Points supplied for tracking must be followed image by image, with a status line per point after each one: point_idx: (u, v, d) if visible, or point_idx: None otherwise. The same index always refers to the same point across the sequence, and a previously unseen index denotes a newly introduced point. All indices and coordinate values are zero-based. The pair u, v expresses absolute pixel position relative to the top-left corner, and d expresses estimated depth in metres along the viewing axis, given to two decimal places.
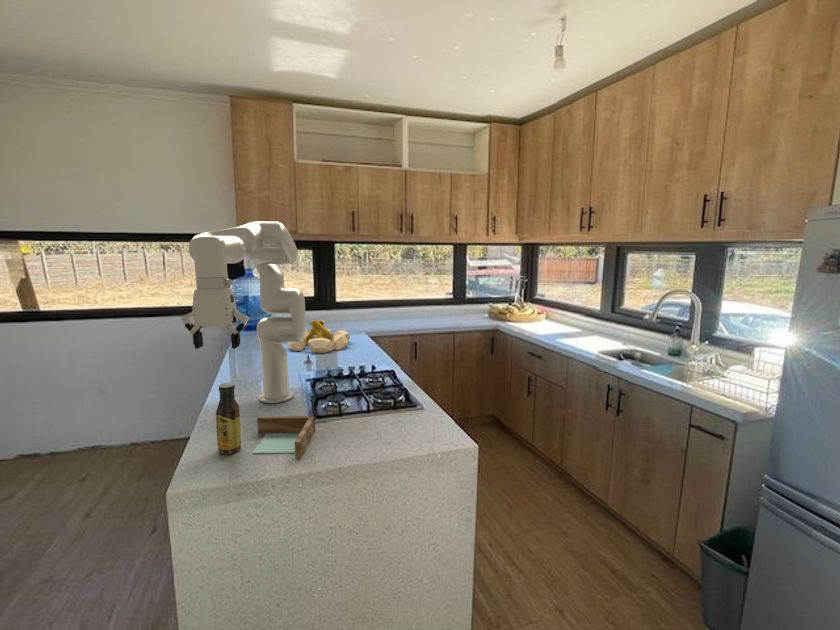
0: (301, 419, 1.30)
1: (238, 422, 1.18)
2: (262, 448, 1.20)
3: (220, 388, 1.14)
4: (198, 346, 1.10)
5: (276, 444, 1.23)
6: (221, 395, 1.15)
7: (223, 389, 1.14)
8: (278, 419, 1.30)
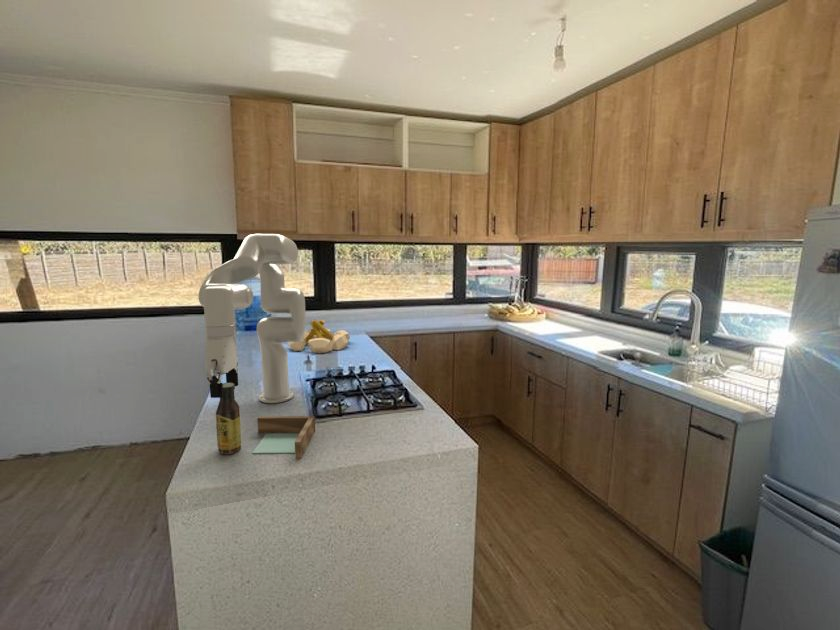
0: (301, 419, 1.30)
1: (238, 422, 1.18)
2: (262, 448, 1.20)
3: None
4: None
5: (276, 444, 1.23)
6: None
7: (223, 389, 1.14)
8: (278, 419, 1.30)
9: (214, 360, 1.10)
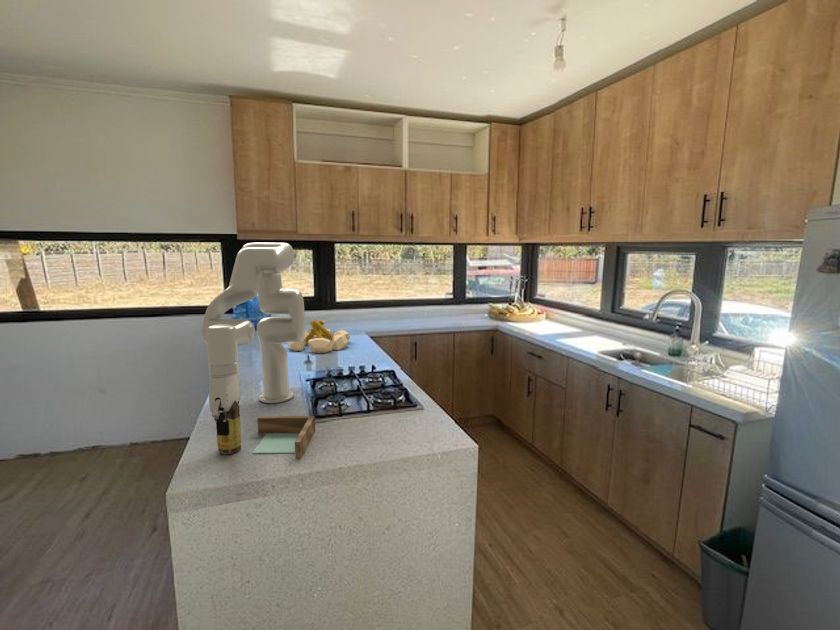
0: (301, 419, 1.30)
1: (238, 422, 1.18)
2: (262, 448, 1.20)
3: None
4: None
5: (276, 444, 1.23)
6: None
7: None
8: (278, 419, 1.30)
9: (218, 400, 1.12)
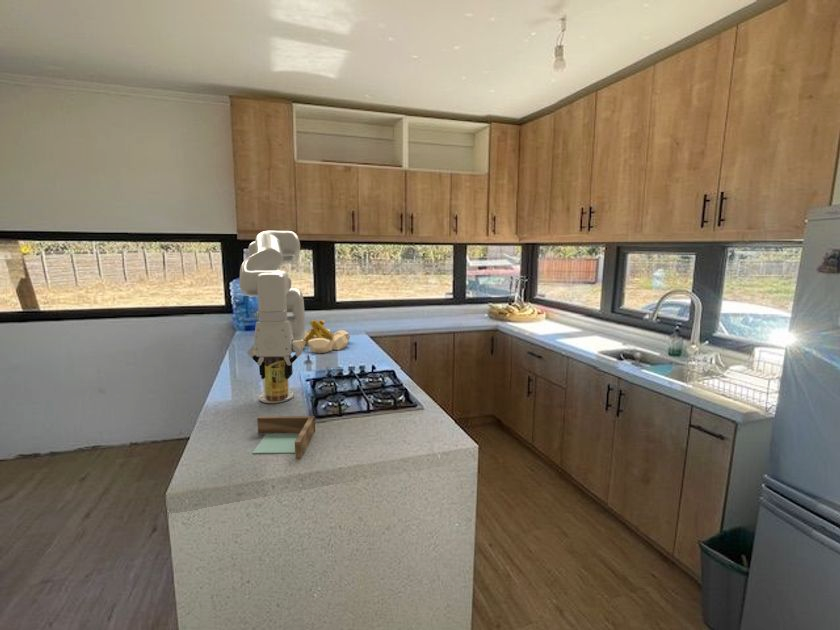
0: (301, 419, 1.30)
1: None
2: (262, 448, 1.20)
3: None
4: None
5: (276, 444, 1.23)
6: None
7: None
8: (278, 419, 1.30)
9: (291, 341, 1.19)
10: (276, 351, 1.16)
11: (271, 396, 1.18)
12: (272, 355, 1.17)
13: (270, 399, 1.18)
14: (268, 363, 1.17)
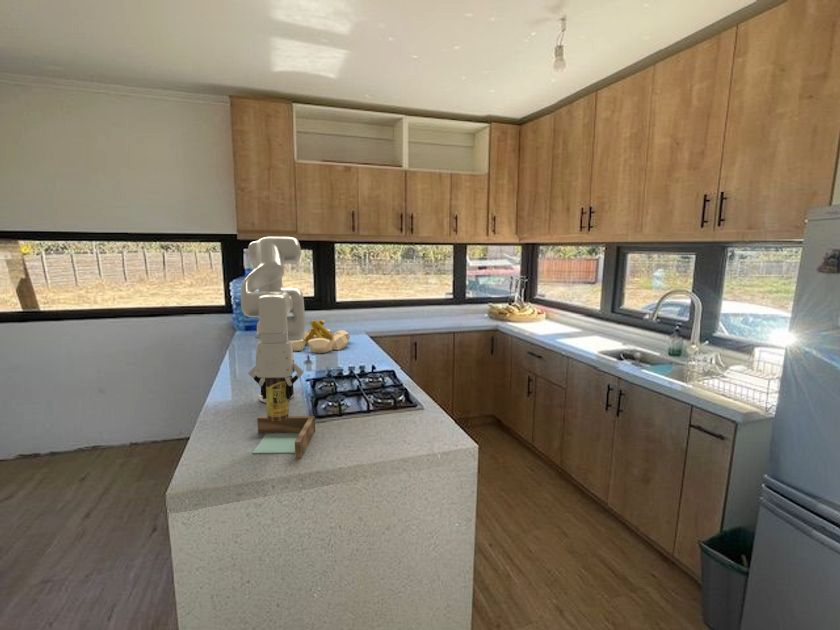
0: (301, 419, 1.30)
1: None
2: (262, 448, 1.20)
3: None
4: None
5: (276, 444, 1.23)
6: None
7: None
8: None
9: (292, 362, 1.20)
10: (277, 372, 1.17)
11: (272, 416, 1.19)
12: (273, 376, 1.17)
13: (271, 419, 1.19)
14: (269, 384, 1.18)
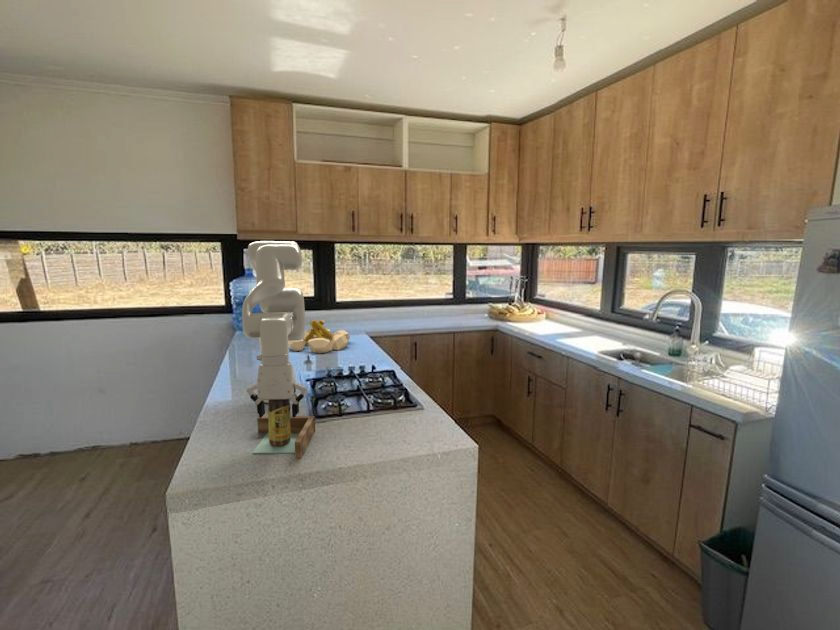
0: (301, 419, 1.30)
1: None
2: (262, 448, 1.20)
3: None
4: None
5: None
6: None
7: None
8: None
9: (294, 382, 1.21)
10: (278, 394, 1.18)
11: (274, 441, 1.21)
12: (274, 398, 1.19)
13: (273, 444, 1.21)
14: (271, 409, 1.20)
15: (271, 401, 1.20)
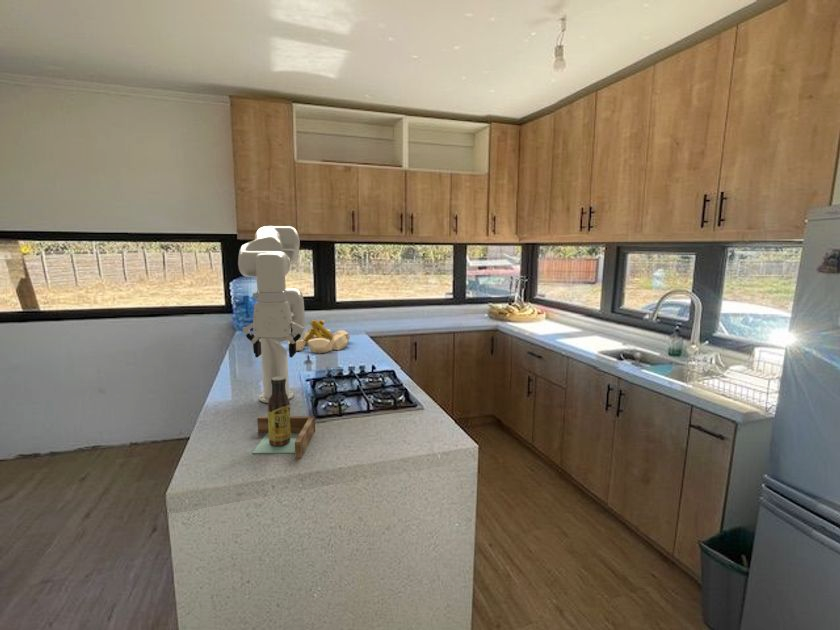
0: (301, 419, 1.30)
1: None
2: (262, 448, 1.20)
3: (283, 380, 1.20)
4: None
5: None
6: (283, 387, 1.21)
7: (285, 380, 1.21)
8: None
9: (291, 321, 1.18)
10: (275, 332, 1.16)
11: (274, 441, 1.21)
12: (271, 336, 1.16)
13: (273, 444, 1.21)
14: (271, 409, 1.20)
15: (271, 401, 1.20)
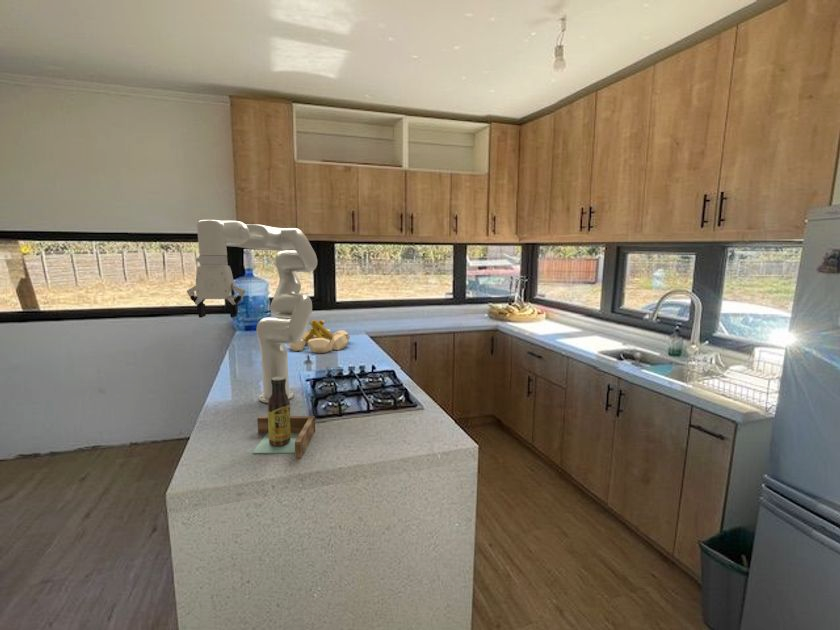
0: (301, 419, 1.30)
1: None
2: (262, 448, 1.20)
3: (283, 380, 1.20)
4: None
5: None
6: (283, 387, 1.21)
7: (285, 380, 1.21)
8: None
9: (232, 284, 1.28)
10: (216, 293, 1.25)
11: (274, 441, 1.21)
12: (212, 297, 1.25)
13: (273, 444, 1.21)
14: (271, 409, 1.20)
15: (271, 401, 1.20)
